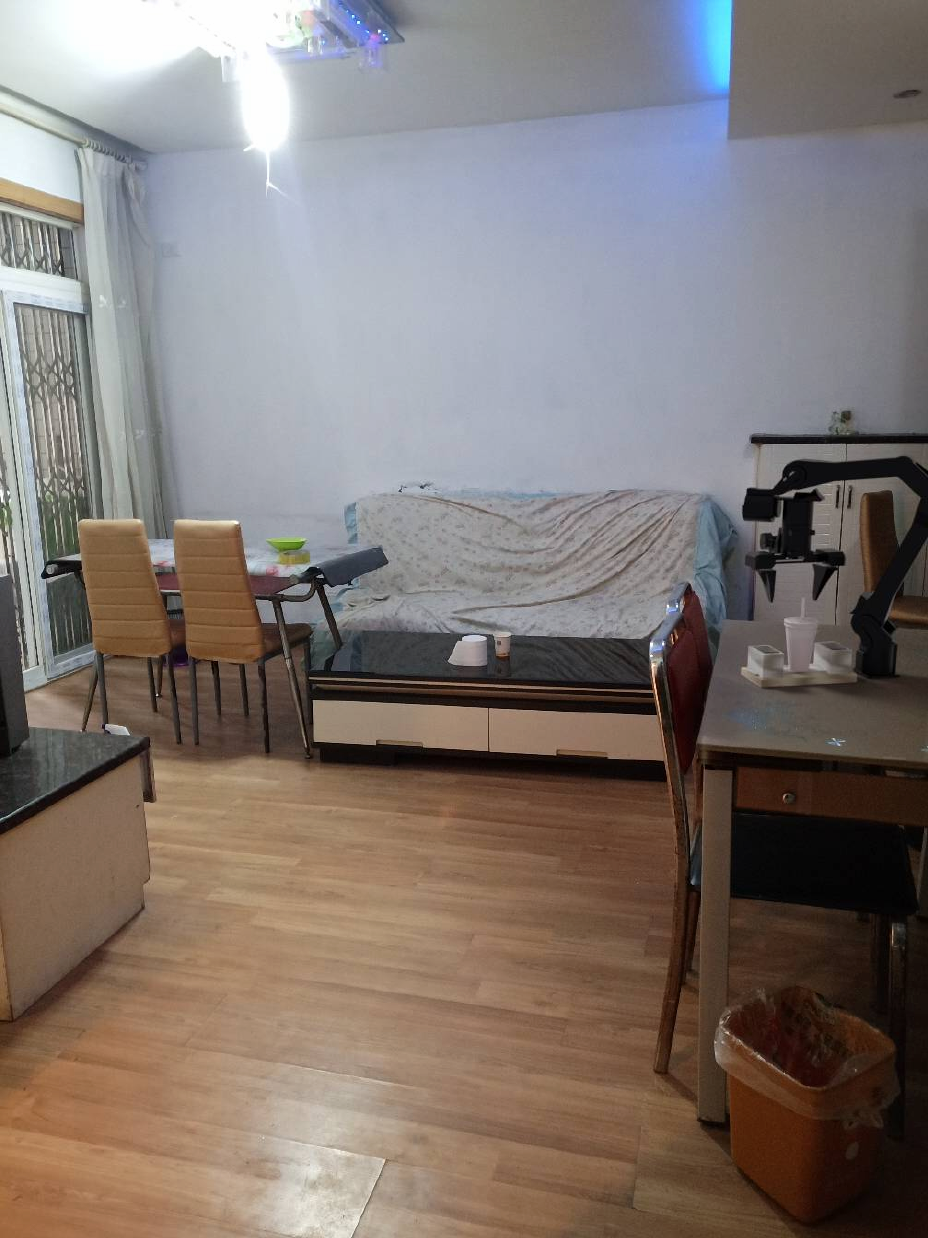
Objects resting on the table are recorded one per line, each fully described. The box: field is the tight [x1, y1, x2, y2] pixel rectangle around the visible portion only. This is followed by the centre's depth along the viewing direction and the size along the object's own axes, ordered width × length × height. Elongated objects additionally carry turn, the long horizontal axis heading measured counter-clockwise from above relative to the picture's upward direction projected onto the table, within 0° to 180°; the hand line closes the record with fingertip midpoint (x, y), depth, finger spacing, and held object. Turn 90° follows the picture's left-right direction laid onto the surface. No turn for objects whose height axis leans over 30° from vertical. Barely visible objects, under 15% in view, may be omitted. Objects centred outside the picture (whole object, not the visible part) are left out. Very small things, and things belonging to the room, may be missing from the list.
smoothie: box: [783, 596, 820, 672], centre depth 186 cm, size 6×6×14 cm
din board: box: [740, 641, 858, 689], centre depth 187 cm, size 19×9×6 cm, turn 97°
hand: (792, 601), depth 195 cm, fingers open, 9 cm apart
